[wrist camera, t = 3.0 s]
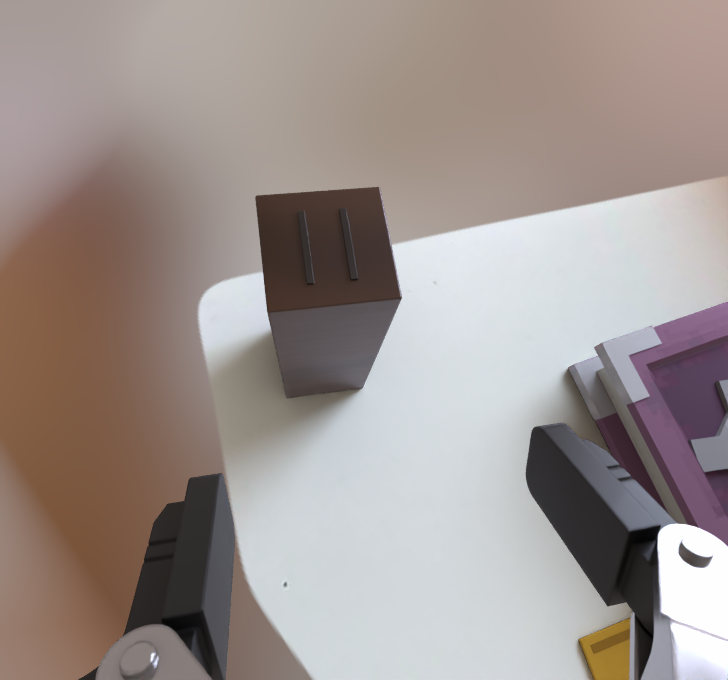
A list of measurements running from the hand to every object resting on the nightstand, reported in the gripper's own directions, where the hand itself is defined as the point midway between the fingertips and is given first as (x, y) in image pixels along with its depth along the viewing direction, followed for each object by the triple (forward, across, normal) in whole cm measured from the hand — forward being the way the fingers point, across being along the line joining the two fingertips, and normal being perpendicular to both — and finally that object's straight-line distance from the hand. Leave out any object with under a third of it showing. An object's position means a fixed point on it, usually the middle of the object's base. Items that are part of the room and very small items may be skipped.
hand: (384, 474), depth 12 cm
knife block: (+22, 0, +8) cm, 23 cm away
